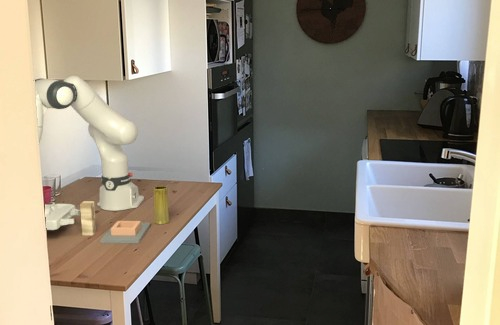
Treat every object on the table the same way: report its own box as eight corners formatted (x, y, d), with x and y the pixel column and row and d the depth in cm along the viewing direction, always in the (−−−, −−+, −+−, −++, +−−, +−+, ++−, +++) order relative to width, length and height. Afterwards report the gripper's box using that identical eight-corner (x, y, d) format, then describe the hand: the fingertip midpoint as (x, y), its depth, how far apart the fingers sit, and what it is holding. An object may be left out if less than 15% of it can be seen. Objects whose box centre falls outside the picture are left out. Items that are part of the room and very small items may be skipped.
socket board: (115, 224, 220) (115, 216, 219) (150, 225, 219) (150, 216, 219) (100, 243, 201) (99, 233, 200) (138, 243, 200) (138, 234, 199)
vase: (169, 219, 227) (168, 185, 223) (169, 223, 221) (168, 189, 217) (154, 220, 226) (152, 185, 222) (154, 224, 220) (152, 189, 216)
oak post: (86, 231, 213) (83, 201, 210) (96, 231, 213) (94, 201, 210) (82, 235, 209) (80, 204, 206) (92, 235, 209) (90, 204, 206)
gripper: (30, 217, 200) (67, 217, 199) (52, 200, 219) (87, 201, 219) (31, 234, 201) (69, 234, 200) (54, 216, 221) (88, 216, 220)
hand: (78, 216), depth 210 cm, fingers open, 8 cm apart
